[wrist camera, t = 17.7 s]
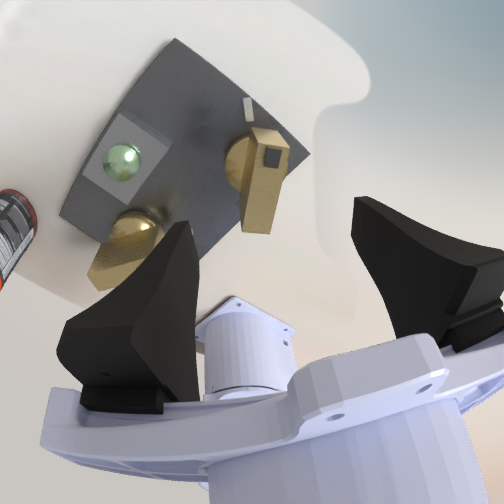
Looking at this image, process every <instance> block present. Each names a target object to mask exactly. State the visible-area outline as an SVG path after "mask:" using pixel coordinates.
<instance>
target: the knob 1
mask: <svg viewBox="0 0 504 504" xmlns="http://www.w3.org/2000/svg"><path fill="white" fill-rule="evenodd" d="M164 235H165V233H164V231H163V229H162V227H161V225H159V224H158V223H157V221H156V220H155V219H154V218H152V217H151V216H150V215H148V214H146V213H143V212H139V211H130V212H126V213H124V214H122V215H121V216H120V217H118V219H117V220H116V222H115V224H114V226H113V227H112V229H111V232H110V235H109V241H107V242H104V243H102V244H101V246H100V248H99V250H98V252H97V254H96V256H95V258H94V260H93V263H92V265H91V267H90V269H89V271H88V273H87V276H88V277H89V279H90V280H91V282H92V283H93V284H94V286H95V287H96V288H97V290H98V291H102V290H106V289H110V288H114V287H117V286H118V285H119V284H121V283H122V282H123V281H124V280H125V279H126V278H127V277H128V276H129V275H130V274H131V273H133V272H134V271H135V270H136V269H137V267H138V266H139V265H140V264H141V263H142V262H143V261H144V260H145V259H146V257H147V256H148V255H149V254H150V253H151V252H152V250H153V249H154V248H155V247H156V245H157V244H158V243H159V242H160V240H161V239H162V238H163V237H164Z"/></svg>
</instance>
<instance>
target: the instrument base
mask: <svg viewBox="0 0 504 504" xmlns="http://www.w3.org/2000/svg"><path fill="white" fill-rule="evenodd" d="M251 127H256V128H263V129H269V130H276V131H278V132H279V134H280V135H281V136H282V138H283V139H284V140H285V142H286V143H287V144H288V146H289V147H290V151H289V156H288V160H287V161H288V170H287V174H286V176H287V175H288V174H289V173H290V172H291V171H293V170H294V169H295V168H296V167H297V166H298V165H299V164H300V163H301V162H302V161H303V160H304V159H306V158H307V157H308V156H309V155H310V153H309V152H308V151H307V149H306V148H305V147H304V146H303V145H302V144H301V143H300V142H299V141H298V140H297V139H296V138H295V137H294V136H293V135H292V134H290V133H289V132H288V131H287V130H286V129H285V128H284V127H283V126H282V125H281V124H280V123H279V122H278V121H277V120H276V119H275V118H274V117H273V116H272V115H270V114H269V113H268V112H267V111H266V110H265V109H264V108H263V107H262V106H261V105H259V104H258V103H257V102H256V101H255V100H254V99H253V98H251V97H250V96H249V95H248V94H247V93H246V92H245V91H243V90H242V89H241V88H240V87H239V86H237V85H236V84H235V83H234V82H233V81H231V80H230V79H229V78H228V77H227V76H225V75H224V74H223V73H222V72H220V71H219V70H218V69H217V68H215V67H214V66H213V65H212V64H210V63H209V62H208V61H206V60H205V59H204V58H202V57H201V56H200V55H198V54H197V53H196V52H194V51H193V50H192V49H190V48H189V47H188V46H186V45H185V44H183V43H182V42H181V41H179V40H178V39H176V38H174V39H173V40H172V41H171V42H170V44H169V45H168V46H167V47H166V48H165V49H164V50H163V51H162V53H161V54H160V55H159V56H158V57H157V58H156V60H155V61H154V62H153V63H152V64H151V66H150V67H149V68H148V69H147V70H146V72H145V73H144V74H143V75H142V77H141V78H140V79H139V81H138V82H137V83H136V84H135V86H134V87H133V88H132V90H131V91H130V93H129V94H128V95H127V97H126V98H125V99H124V101H123V102H122V104H121V105H120V107H119V108H118V109H117V111H116V112H115V114H114V115H113V117H112V118H111V120H110V121H109V123H108V125H107V126H106V128H105V129H104V131H103V132H102V134H101V136H100V137H99V139H98V141H97V142H96V144H95V146H94V147H93V149H92V151H91V153H90V154H89V156H88V158H87V160H86V161H85V163H84V165H83V167H82V169H81V171H80V173H79V175H78V176H77V178H76V180H75V182H74V184H73V186H72V188H71V190H70V192H69V195H68V197H67V199H66V201H65V203H64V205H63V207H62V210H61V212H60V214H59V216H61V217H62V218H64V219H65V220H67V221H68V222H70V223H71V224H73V225H74V226H76V227H77V228H79V229H80V230H82V231H83V232H85V233H86V234H88V235H89V236H91V237H92V238H94V239H96V240H97V241H99V242H100V243H104V242H107V241H109V235H110V232H111V229H112V227H113V226H114V224H115V222H116V220H117V219H118V217H120V216H121V215H122V214H124V213H126V212H130V211H139V212H143V213H146V214H148V215H150V216H151V217H152V218H154V219H155V220H156V221H157V223H158V224H159V225H161V227H162V229H163V231H164V233H165V234H166V233H167V231H168V230H169V229H170V228H171V226H172V225H173V224H174V223H175V222H180V221H186V220H189V224H190V227H191V231H192V235H193V238H194V242H195V246H196V249H197V253H198V256H199V260H200V259H201V258H202V257H203V256H204V255H205V254H206V253H207V252H208V251H209V250H210V249H211V248H212V247H213V246H214V245H215V244H216V243H217V242H218V241H219V240H220V239H221V238H222V237H223V236H224V235H225V234H227V233H228V232H229V231H230V230H231V229H232V228H233V227H234V226H235V225H236V224H237V223H238V222H239V221H240V213H239V205H238V200H239V194H240V192H239V191H238V190H236V189H235V188H234V187H233V186H232V185H231V184H230V183H229V181H228V179H227V177H226V173H225V155H226V152H227V150H228V148H229V146H230V145H231V144H232V143H233V142H234V141H235V140H236V139H237V138H239V137H241V136H243V135H246V134H249V133H250V131H251Z"/></svg>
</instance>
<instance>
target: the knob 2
mask: <svg viewBox="0 0 504 504" xmlns="http://www.w3.org/2000/svg"><path fill="white" fill-rule="evenodd" d="M289 151H290V147H289V146H288V144H287V143H286V142H285V140H284V139H283V138H282V136H281V135H280V134H279V132H278V131H276V130H269V129H263V128H256V127H251V131H250V133H249V134H246V135H243V136H241V137H239V138H237V139H236V140H235V141H234V142H233V143H232V144H231V145H230V146H229V148H228V150H227V152H226V155H225V173H226V177H227V179H228V181H229V183H230V184H231V185H232V186H233V187H234V188H235V189H236V190H238V191H239V192H240V194H239V200H238V205H239V213H240V220H241V228H242V232H248V233H260V234H270V231H271V227H272V223H273V219H274V214H275V210H276V206H277V202H278V198H279V194H280V189H281V185H282V182H283V180H284V179H285V177H286V174H287V170H288V161H287V160H288V156H289Z"/></svg>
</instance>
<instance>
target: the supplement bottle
mask: <svg viewBox="0 0 504 504" xmlns="http://www.w3.org/2000/svg"><path fill="white" fill-rule="evenodd" d="M36 232H37V218H36V214H35V212H34V209H33V207H32V206H31V204H30V202H29V201H28V199H27V198H25V197H24V196H23V195H22V194H21V193H19V192H17V191H15V190H11V189H6V190H2V191H0V291H1V289H2V287H3V285H4V283H5V282H6V280H7V279H8V277H9V275H10V274H11V272H12V271H13V269H14V267H15V266H16V264H17V263H18V261H19V260H20V258H21V256H22V255H23V253H24V252H25V251H26V250H27V248H28V246H29V245H30V243H31V242H32V240H33V238H34V237H35V235H36Z"/></svg>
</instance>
